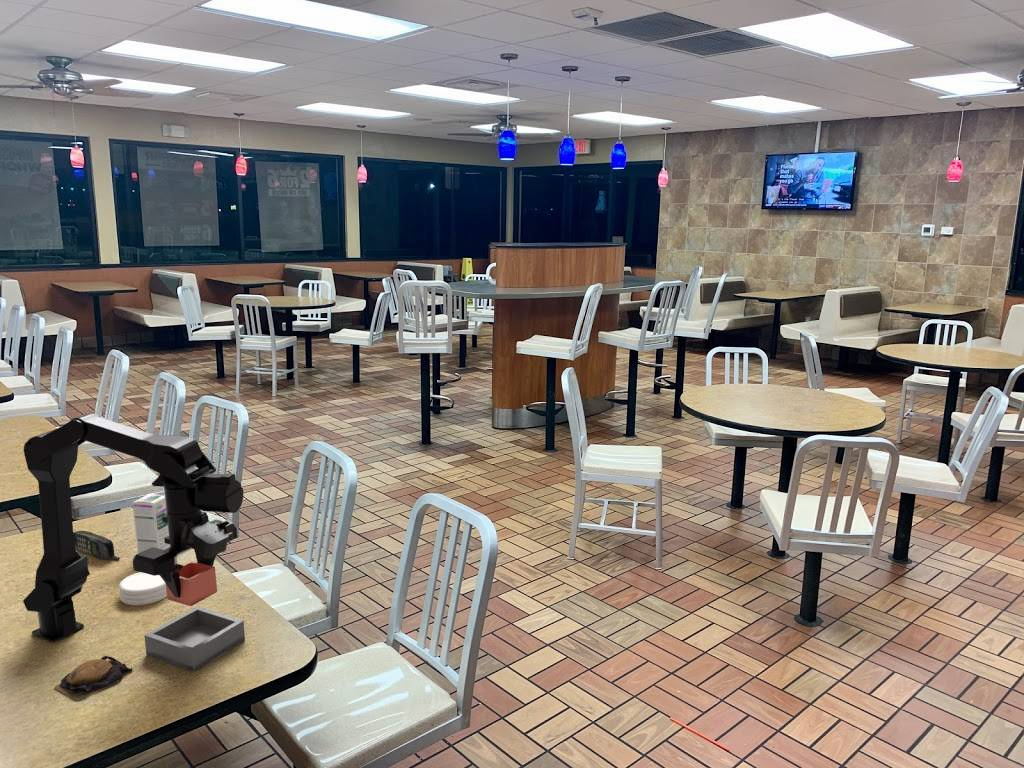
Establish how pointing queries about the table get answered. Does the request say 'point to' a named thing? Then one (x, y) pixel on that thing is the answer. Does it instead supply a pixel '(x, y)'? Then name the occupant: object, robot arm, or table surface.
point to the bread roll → (92, 677)
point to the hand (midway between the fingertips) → (191, 589)
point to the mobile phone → (94, 545)
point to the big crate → (194, 638)
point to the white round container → (142, 589)
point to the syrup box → (150, 522)
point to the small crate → (195, 583)
